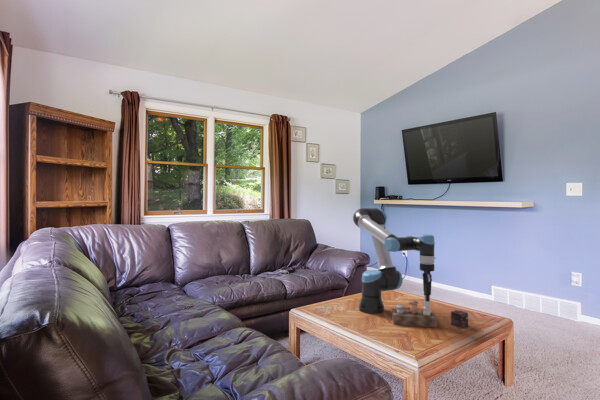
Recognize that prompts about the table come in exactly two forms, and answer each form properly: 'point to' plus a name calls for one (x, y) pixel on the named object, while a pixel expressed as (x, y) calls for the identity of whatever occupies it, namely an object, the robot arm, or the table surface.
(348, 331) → the table surface
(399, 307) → the grey plug
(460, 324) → the box
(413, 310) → the terracotta plug
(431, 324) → the socket block
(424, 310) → the cream plug
